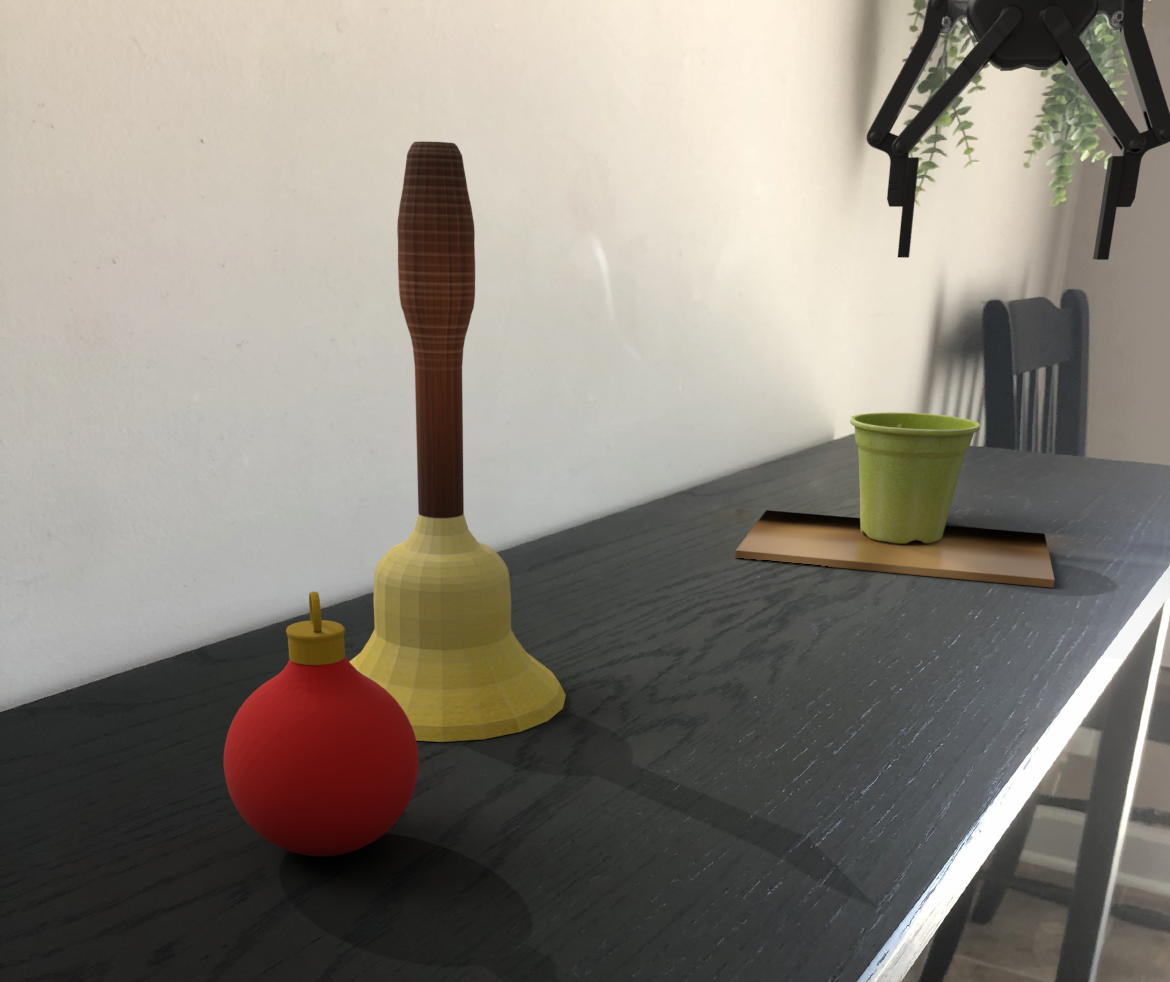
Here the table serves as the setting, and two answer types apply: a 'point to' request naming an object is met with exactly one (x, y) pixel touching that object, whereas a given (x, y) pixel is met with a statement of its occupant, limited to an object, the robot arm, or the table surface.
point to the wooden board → (901, 550)
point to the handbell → (446, 502)
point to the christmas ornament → (320, 749)
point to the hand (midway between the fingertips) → (1000, 258)
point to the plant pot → (909, 472)
